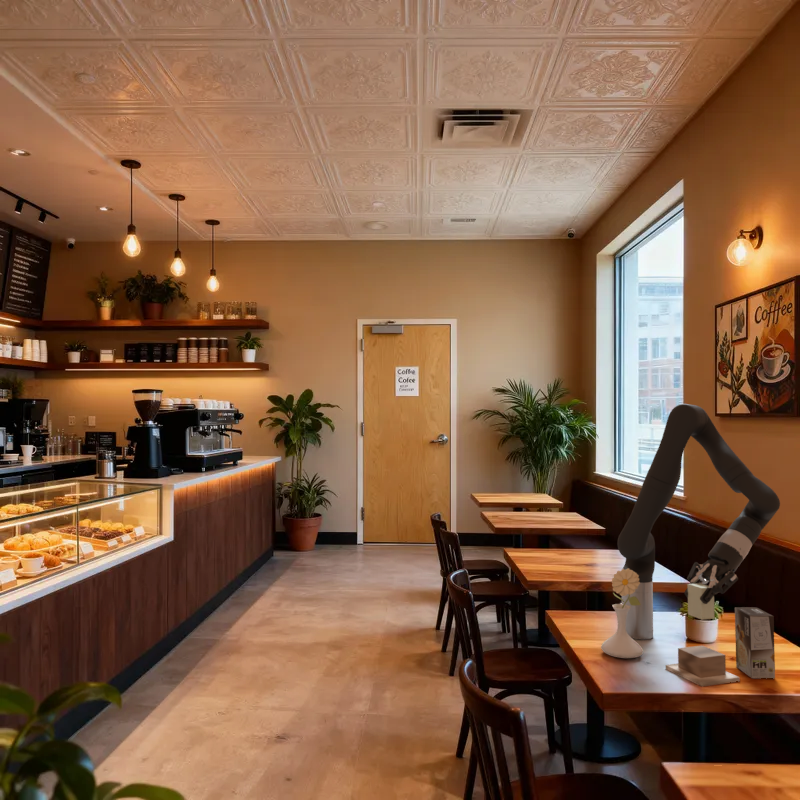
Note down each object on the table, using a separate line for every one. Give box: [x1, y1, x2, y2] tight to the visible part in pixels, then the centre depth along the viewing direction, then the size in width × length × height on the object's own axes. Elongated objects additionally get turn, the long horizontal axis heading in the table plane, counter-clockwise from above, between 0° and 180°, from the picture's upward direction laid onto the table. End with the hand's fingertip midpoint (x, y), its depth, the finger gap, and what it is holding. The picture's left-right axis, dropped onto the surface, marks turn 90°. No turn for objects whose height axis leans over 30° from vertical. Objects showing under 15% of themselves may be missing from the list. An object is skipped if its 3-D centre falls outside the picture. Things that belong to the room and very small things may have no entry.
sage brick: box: [687, 582, 715, 621], centre depth 174 cm, size 5×4×8 cm
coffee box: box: [734, 606, 776, 680], centre depth 175 cm, size 9×6×16 cm
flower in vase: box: [600, 568, 644, 659], centre depth 188 cm, size 13×11×25 cm
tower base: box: [665, 645, 741, 687], centre depth 173 cm, size 13×12×6 cm
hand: (695, 598), depth 174 cm, fingers closed on sage brick, 5 cm apart
